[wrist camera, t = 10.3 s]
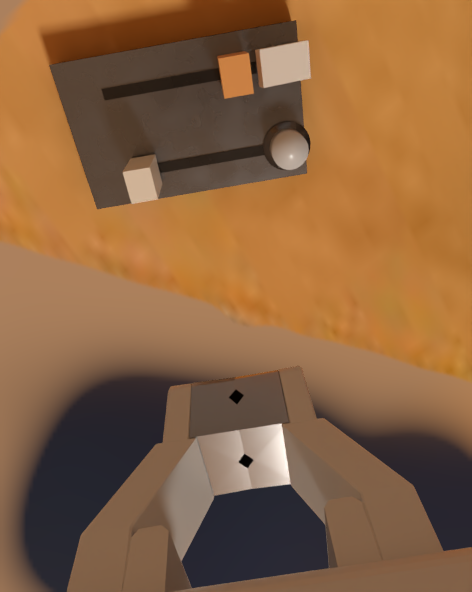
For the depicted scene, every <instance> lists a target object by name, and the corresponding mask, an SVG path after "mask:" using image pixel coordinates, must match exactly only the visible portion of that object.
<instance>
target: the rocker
mask: <svg viewBox="0 0 472 592" xmlns="http://www.w3.org/2000/svg"><path fill="white" fill-rule="evenodd" d="M255 54H256V62H257V71H258V80H259V87H261V88H266V87H271V86H276V85H281V84H286V83H291V82H295V81H300V80H305V79H310V78H311V75H310V58H309V41H308V40H307V41H299V42H294V43H288V44H283V45H278V46H273V47H267V48H262V49H257V50H255Z"/></svg>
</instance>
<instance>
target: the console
mask: <svg viewBox="0 0 472 592" xmlns="http://www.w3.org/2000/svg"><path fill="white" fill-rule="evenodd" d="M294 42H298V39H297V25H296V20H295V21H289V22H284V23H278V24H273V25H267V26H262V27H256V28H250V29H245V30H239V31H234V32H228V33H223V34H217V35H212V36H206V37H201V38H195V39H190V40H184V41H179V42H173V43H168V44H162V45H157V46H151V47H146V48H140V49H135V50H129V51H123V52H118V53H112V54H107V55H101V56H96V57H90V58H85V59H79V60H74V61H68V62H63V63H57V64H52V65H49V66H50V69H51V72H52V75H53V78H54V81H55V84H56V87H57V90H58V93H59V96H60V99H61V102H62V105H63V108H64V111H65V114H66V117H67V120H68V123H69V126H70V129H71V132H72V135H73V138H74V141H75V144H76V147H77V150H78V153H79V156H80V159H81V162H82V165H83V168H84V171H85V174H86V177H87V180H88V183H89V186H90V189H91V192H92V195H93V198H94V201H95V204H96V207H97V209H101V208H107V207H113V206H118V205H124V204H130V203H131V200H130V197H129V193H128V190H127V186H126V183H125V179H124V176H123V170H124V169H125V167H126V165H127V164H128V162H129V160H130V159H131V158H137V157H142V156H148V155H154V154H155V155H156V159H157V164H158V168H159V172H160V176H161V180H162V187H161V190H160V194H159V197H158V199H159V198H165V197H171V196H177V195H183V194H189V193H195V192H200V191H206V190H212V189H218V188H224V187H230V186H236V185H241V184H247V183H253V182H259V181H265V180H271V179H277V178H282V177H288V176H294V175H300V174H306V173H307V165H306V160H305V162H304V163H303V164H302V165H301V166H300V167H298V168H296V169H293V170H286V169H283V168H281V167H279V166H278V165H277V164H276V163H275V161H274V159H273V157H272V155H271V153H270V142H271V139H272V137H273V136H274V135H275V134H276V133H277V132H278V131H280V130H282V129H285V128H291V129H294V130H296V131H298V132H299V133H300V134H301V135H302V136H303V137H304V138H305V140H306V141H307V143H308V148H309V150H310V138H309V135H308V133H307V131H306V130H305V128H304V123H303V109H302V95H301V81H295V82H291V83H286V84H281V85H276V86H271V87H266V88H261V87H259V80H258V71H257V62H256V54H255V50H257V49H262V48H267V47H273V46H278V45H283V44H288V43H294ZM242 51H245V52H247V53H249V58H250V66H251V74H252V82H253V90H254V94H249V95H243V96H237V97H232V98H226V99H224V95H223V92H222V85H221V79H220V72H219V66H218V59H217V56H220V55H225V54H231V53H237V52H242ZM308 154H309V152H308Z"/></svg>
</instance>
